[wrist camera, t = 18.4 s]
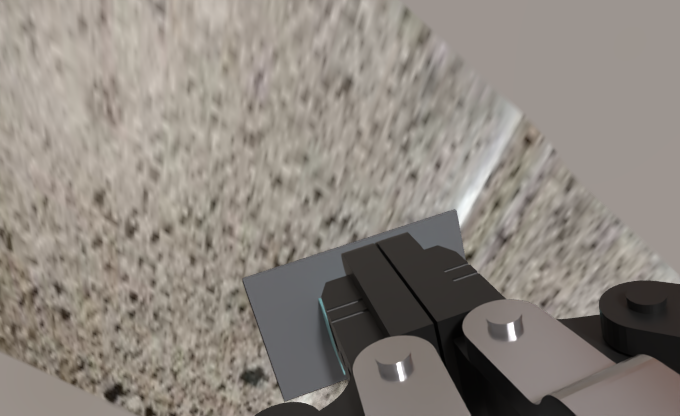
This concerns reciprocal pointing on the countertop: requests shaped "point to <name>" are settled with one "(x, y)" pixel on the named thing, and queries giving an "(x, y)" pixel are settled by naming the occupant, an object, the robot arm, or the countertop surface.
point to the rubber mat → (305, 311)
